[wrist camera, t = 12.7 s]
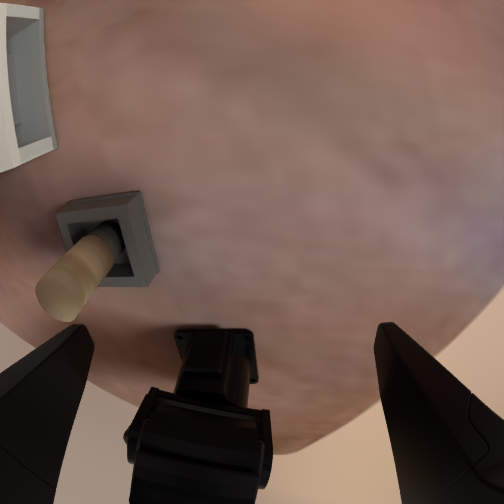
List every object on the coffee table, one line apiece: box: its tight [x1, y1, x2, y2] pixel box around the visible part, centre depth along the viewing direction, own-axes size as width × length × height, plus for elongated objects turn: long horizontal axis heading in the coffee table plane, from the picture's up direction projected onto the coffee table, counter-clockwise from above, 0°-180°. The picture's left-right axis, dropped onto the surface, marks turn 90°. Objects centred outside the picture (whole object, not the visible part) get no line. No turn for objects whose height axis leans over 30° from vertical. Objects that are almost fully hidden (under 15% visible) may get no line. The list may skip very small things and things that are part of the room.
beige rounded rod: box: [36, 221, 126, 322], centre depth 17 cm, size 3×3×8 cm
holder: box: [55, 191, 160, 287], centre depth 20 cm, size 6×6×2 cm
